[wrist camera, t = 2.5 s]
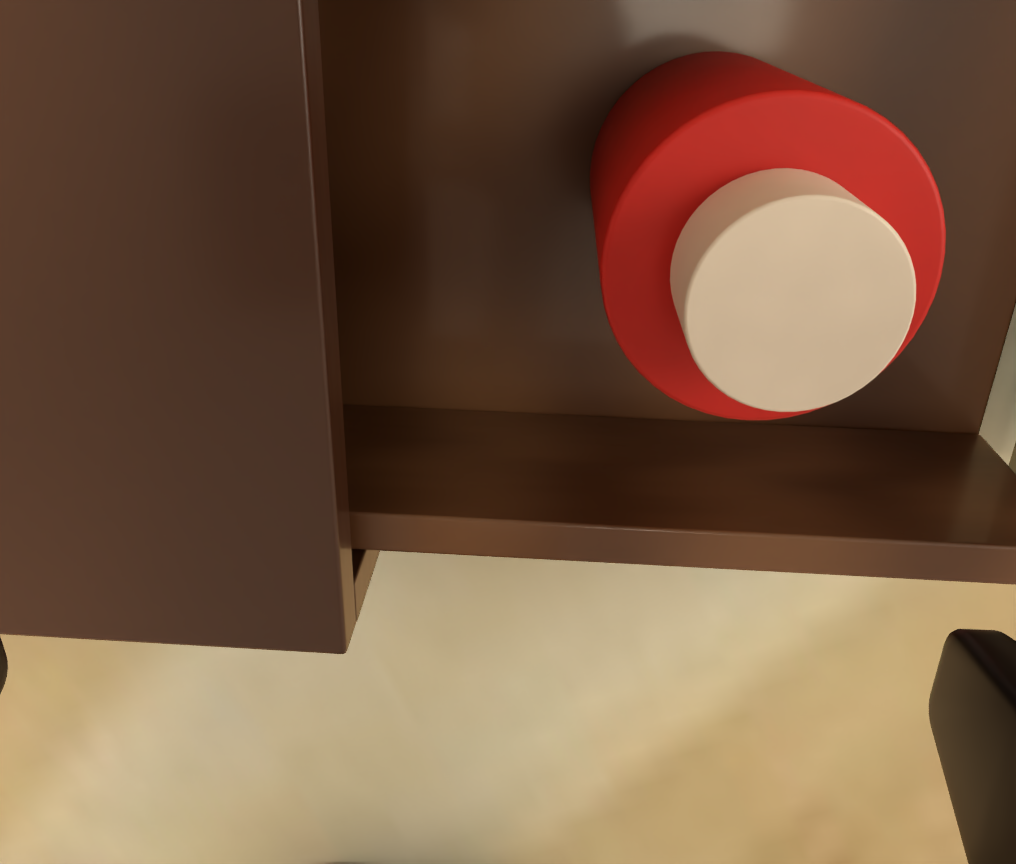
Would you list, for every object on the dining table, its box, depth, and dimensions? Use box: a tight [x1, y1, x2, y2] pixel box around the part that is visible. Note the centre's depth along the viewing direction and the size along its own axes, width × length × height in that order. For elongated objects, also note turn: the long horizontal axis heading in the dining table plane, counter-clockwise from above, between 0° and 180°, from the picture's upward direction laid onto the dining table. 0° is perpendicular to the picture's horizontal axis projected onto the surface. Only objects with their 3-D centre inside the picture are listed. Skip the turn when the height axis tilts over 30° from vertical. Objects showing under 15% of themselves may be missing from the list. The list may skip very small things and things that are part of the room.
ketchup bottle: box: [590, 51, 946, 420], centre depth 14 cm, size 4×4×8 cm
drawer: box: [318, 0, 1016, 584], centre depth 16 cm, size 23×14×6 cm, turn 89°
